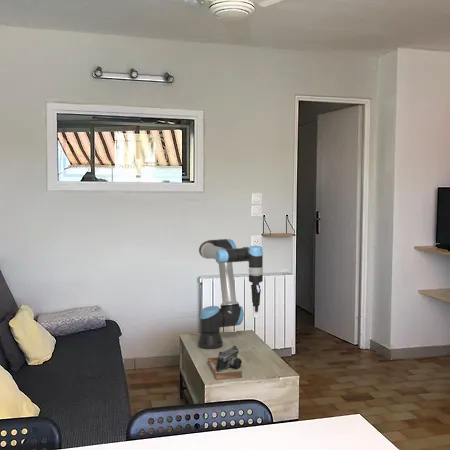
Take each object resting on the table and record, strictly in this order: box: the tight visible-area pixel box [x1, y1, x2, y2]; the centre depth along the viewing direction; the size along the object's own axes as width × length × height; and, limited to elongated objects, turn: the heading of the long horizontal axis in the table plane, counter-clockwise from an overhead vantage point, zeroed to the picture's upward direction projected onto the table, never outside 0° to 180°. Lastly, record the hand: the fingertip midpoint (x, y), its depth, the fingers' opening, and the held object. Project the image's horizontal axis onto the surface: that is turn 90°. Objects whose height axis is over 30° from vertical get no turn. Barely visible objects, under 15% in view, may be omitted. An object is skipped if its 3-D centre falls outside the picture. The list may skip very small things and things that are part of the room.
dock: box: [207, 356, 243, 381], centre depth 273 cm, size 25×13×4 cm, turn 12°
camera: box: [215, 345, 242, 373], centre depth 276 cm, size 18×9×10 cm, turn 149°
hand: (255, 316), depth 285 cm, fingers closed
